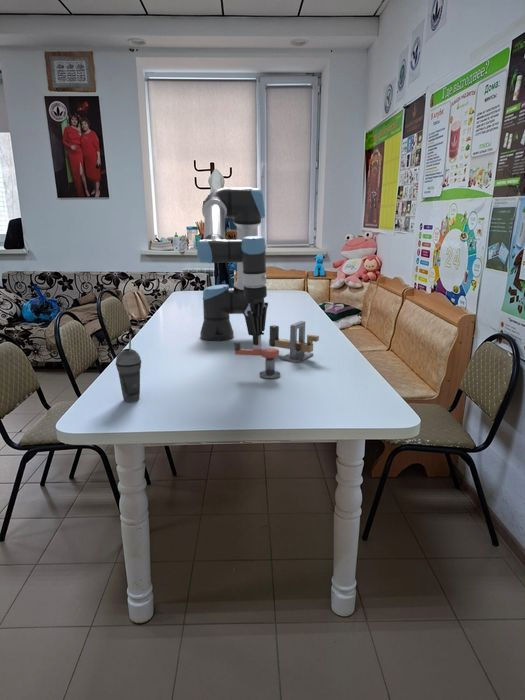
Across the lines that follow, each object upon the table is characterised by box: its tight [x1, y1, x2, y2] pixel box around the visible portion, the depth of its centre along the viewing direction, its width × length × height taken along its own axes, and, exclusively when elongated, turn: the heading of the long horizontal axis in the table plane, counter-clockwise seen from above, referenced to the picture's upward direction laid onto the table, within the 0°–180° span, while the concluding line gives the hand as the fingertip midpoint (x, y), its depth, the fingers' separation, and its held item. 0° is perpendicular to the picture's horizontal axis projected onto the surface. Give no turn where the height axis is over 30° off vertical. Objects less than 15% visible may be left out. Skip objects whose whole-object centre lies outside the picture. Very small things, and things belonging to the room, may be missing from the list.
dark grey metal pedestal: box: [259, 358, 281, 380], centre depth 153 cm, size 7×7×7 cm
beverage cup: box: [115, 334, 142, 403], centre depth 130 cm, size 7×7×20 cm
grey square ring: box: [280, 320, 314, 364], centre depth 172 cm, size 8×12×14 cm, turn 148°
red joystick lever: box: [233, 341, 280, 359], centre depth 152 cm, size 15×6×4 cm, turn 81°
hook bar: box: [268, 325, 320, 353], centre depth 173 cm, size 21×4×8 cm, turn 58°
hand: (257, 352), depth 154 cm, fingers closed
